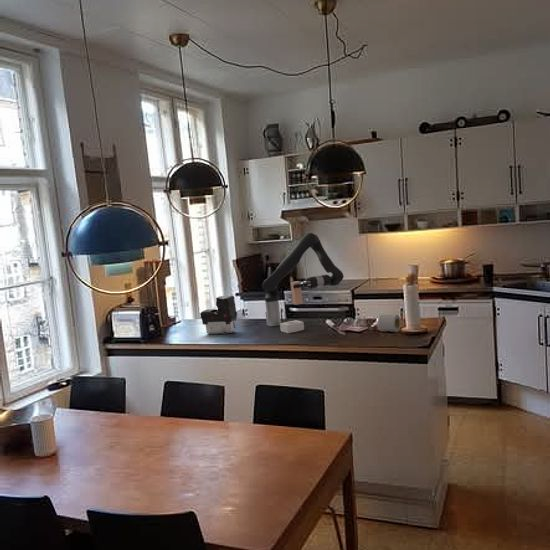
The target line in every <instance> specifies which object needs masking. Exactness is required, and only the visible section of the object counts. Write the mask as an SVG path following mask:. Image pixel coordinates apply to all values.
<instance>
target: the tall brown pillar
mask: <svg viewBox="0 0 550 550" xmlns="http://www.w3.org/2000/svg"><path fill="white" fill-rule="evenodd" d="M300 281H301V280H300ZM300 281H299V280H297V281H291V282H290V285H291V288H290V291H291V298H292V304H293V305H296V306H297V305H301V304H303V303H304V302H303V293H302V292H303V291H302V288H293V285H296V284H301V283H300Z"/></svg>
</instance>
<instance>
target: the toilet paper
mask: <svg viewBox="0 0 550 550" xmlns="http://www.w3.org/2000/svg"><path fill="white" fill-rule="evenodd" d="M377 326H378V330H379V331H380V332H387V331H390V332H391V333H393V332H394V333H398V332H399V331H400V330H401V326H402V320H401V316H400V315H398V314H380V315H379V317H378V320H377ZM390 332H389V333H390Z"/></svg>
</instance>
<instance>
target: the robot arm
mask: <svg viewBox="0 0 550 550" xmlns="http://www.w3.org/2000/svg"><path fill="white" fill-rule="evenodd" d="M310 248H311V249H312V250H313V252H314V253H315V255H316V256H317V258H318V261H319V262H320V264H321V266H322V267H323V270H324V271H325V272H326V273H330V274H332V275H329V274H322V275H315V276H309V277H307V278H306V280H302V281H301V280H300V283H301V284H296V285H293V288H301V289H303V288H308V289H309V290H312V289H317V288H321V287H327V286H331V287H332V286H334V287H335V286H338V285H340V283H341V282H342V281H343V279H344V273H343V271H341V269H339V268H338V267H337V266H336V265H335V264H334V262H333V261H332V259H331V258H330V256H329V255H328V254H327V252H326V251H325V249H324V247H323V244H322V243H321V240H320V238H319V237H318V235H317V234H315V233H312V232H307V233H305V235H303V237H302V238H301V240H300V241H299V242H298V243H297V244H296V246H295V247H294V248H293V249H292V250H291V251H290V252H289V253H288V254H287V255H286V257H284V259H283V260H282V261H281V262H280V263H279V264H278V266H277V267H276V269H275V270H274V271H273V273H271V274H270V275H269V276H268V277H267V278H266V279H264V280H263V281H262V282H263V283H262V289H263V290H264V293H265V296H264V301H265V320H266V326H268V327H277V326H280V323H282V322H281V321H282V319H281V312H280V311H281V310H280V302H279V286H278V285H279V283H280V282H281V281H282V280H283V279H284V278H285V277H286V276H287V275H289V274H290V273H291V272H292V271H294V269H295V268H296V266H298V265H299V263H300V262H301V260H302V257H303V255H304V254H305V252H307V251H308V249H310ZM289 288H290V289H291V284H289Z"/></svg>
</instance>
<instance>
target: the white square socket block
mask: <svg viewBox="0 0 550 550" xmlns="http://www.w3.org/2000/svg"><path fill="white" fill-rule="evenodd" d="M279 328H280V332H283V333H286V334H290V333H297V332H299V331H300V332H301V331H304V330H305V324H304V321H302V320H295V319H294V320H291V321H285V322H281V323H280V325H279Z"/></svg>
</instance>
